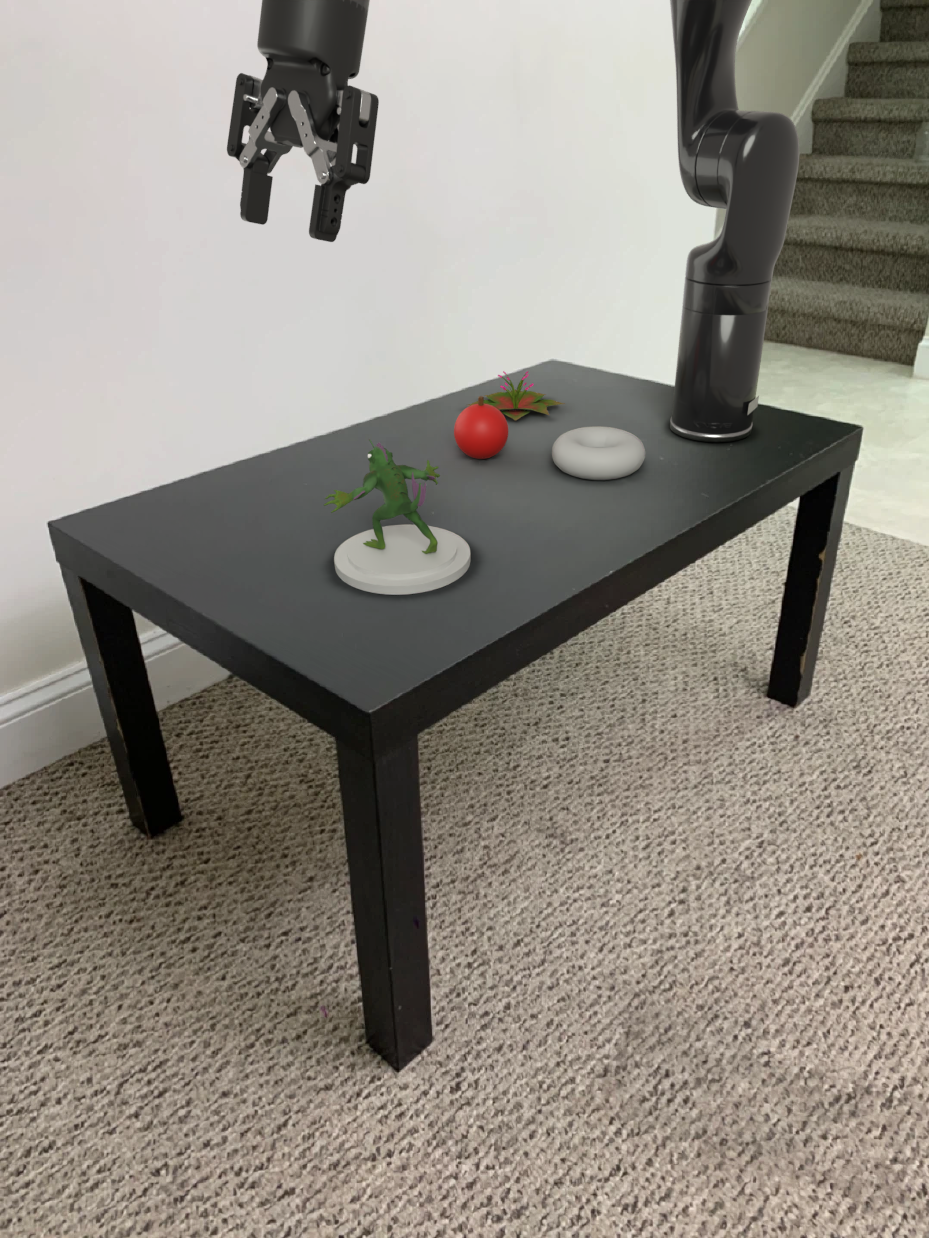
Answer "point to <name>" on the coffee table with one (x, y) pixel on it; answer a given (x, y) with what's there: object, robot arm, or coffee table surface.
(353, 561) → the monster figurine
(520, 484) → the coffee table surface
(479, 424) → the apple
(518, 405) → the lily flower
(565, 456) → the donut
